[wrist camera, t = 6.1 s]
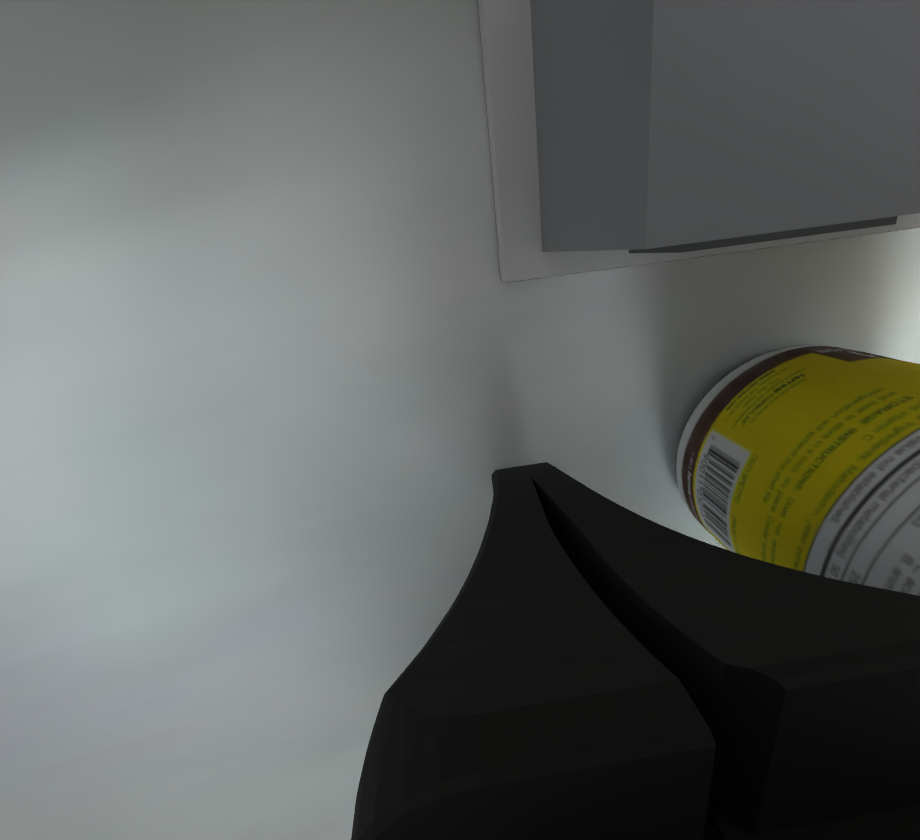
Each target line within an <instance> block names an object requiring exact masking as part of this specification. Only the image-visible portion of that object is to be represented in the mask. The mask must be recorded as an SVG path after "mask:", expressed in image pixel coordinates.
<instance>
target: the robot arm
mask: <svg viewBox="0 0 920 840" xmlns="http://www.w3.org/2000/svg"><path fill="white" fill-rule="evenodd" d="M492 484H493V493H494V494H493V502H492V507H491V513H490V518H489V521H488V525H487V528H486V531H485V535H484V538H483V541H482V544H481V547H480V550H479V552H478V555H477V557H476V560H475V562H474V564H473V566H472V569H471V571H470V573H469V575H468V577H467V579H466V581H465V583H464V585H463V587H462V588H461V590H460V592H459V594H458V596H457V598H456V599H455V601H454V603H453V604H452V606H451V608H450V609H449V611H448V612H447V614H446V615H445V617H444V618H443V620H442V621H441V623H440V624H439V626H438V627H437V629H436V630H435V632H434V633H433V635H432V636H431V637H430V639H429V640H428V642H427V643H426V644H425V646H424V647H423V648H422V650H421V651H420V652H419V653H418V655H417V656H416V657H415V658H414V660H413V661H412V662H411V663H410V664H409V666H408V667H407V668H406V669H405V670H404V672H403V673H402V674H401V675H400V676H399V678H398V679H397V680H396V681H395V682H394V684H393V685H392V686H391V687H390V688H389V689H388V691H387V692H386V693H385V694H384V697H383V700H382V703H381V706H380V709H379V712H378V715H377V718H376V721H375V724H374V727H373V731H372V734H371V738H370V741H369V745H368V748H367V752H366V756H365V760H364V765H363V769H362V774H361V778H360V782H359V787H358V792H357V797H356V805H355V814H354V822H353V830H352V838H351V840H920V596H918V595H913V594H908V593H903V592H897V591H892V590H887V589H882V588H877V587H871V586H866V585H861V584H856V583H851V582H846V581H840V580H836V579H832V578H827V577H823V576H819V575H815V574H811V573H807V572H803V571H799V570H795V569H791V568H787V567H783V566H779V565H775V564H772V563H768V562H765V561H761V560H758V559H754V558H751V557H747V556H744V555H741V554H738V553H735V552H732V551H729V550H726V549H723V548H720V547H717V546H713V545H710V544H708V543H705V542H702V541H699V540H697V539H694V538H691V537H688V536H686V535H684V534H681V533H679V532H676V531H674V530H671V529H669V528H666V527H664V526H662V525H659V524H657V523H655V522H652V521H650V520H648V519H646V518H644V517H642V516H640V515H638V514H636V513H634V512H632V511H630V510H628V509H626V508H624V507H622V506H620V505H618V504H616V503H614V502H612V501H611V500H609V499H607V498H605V497H603V496H602V495H600V494H598V493H596V492H595V491H593V490H591V489H590V488H588V487H586V486H585V485H583V484H581V483H580V482H578V481H577V480H575V479H573V478H572V477H570V476H569V475H567V474H565V473H564V472H562V471H561V470H559V469H557V468H556V467H554V466H552V465H551V464H549V463H547V462H545V463H539V464H532V465H525V466H519V467H512V468H505V469H499V470H495V472H494V473H493V474H492Z"/></svg>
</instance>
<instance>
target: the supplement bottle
mask: <svg viewBox="0 0 920 840" xmlns="http://www.w3.org/2000/svg"><path fill="white" fill-rule="evenodd" d="M676 473H677V481H678V486H679V490H680V493H681V495H682V498H683V500H684V502H685V504H686V506H687V507H688V509H689V511H690V512H691V513H692V515H693V516H694V517H695V518H696V520H697V521H698V522H699V523H700V524H701V525H702V526H703V527H704V528H705V529H706V530H707V531H708V532H709V533H710V534H711V535H712V536H713V537H714V538H715V539H716V540H717V541H718V542H719V543H720V544H721V545H722V546H723V547H724V548H725V549H727V550H729V551H732V552H735V553H738V554H741V555H744V556H747V557H751V558H754V559H758V560H761V561H765V562H768V563H772V564H775V565H779V566H783V567H787V568H791V569H795V570H799V571H803V572H807V573H811V574H815V575H819V576H823V577H827V578H832V579H836V580H840V581H846V582H851V583H856V584H861V585H866V586H871V587H877V588H882V589H887V590H892V591H897V592H903V593H908V594H913V595H918V596H920V364H917V363H911V362H906V361H900V360H896V359H892V358H888V357H883V356H879V355H874V354H870V353H865V352H860V351H854V350H848V349H843V348H838V347H831V346H823V345H801V346H793V347H787V348H783V349H779V350H775V351H772V352H769V353H766V354H764V355H761V356H759V357H757V358H755V359H753V360H751V361H748V362H747V363H745V364H743V365H742V366H740V367H738V368H737V369H735V370H734V371H732V372H731V373H730V374H728V375H727V376H725V377H724V378H723V379H722V380H721V381H720V382H718V383H717V384H716V385H715V386H714V387H713V388H712V389H711V390H710V391H709V392H708V393H707V394H706V396H705V397H704V398H703V399H702V401H701V402H700V403H699V404H698V406H697V407H696V409H695V410H694V412H693V414H692V415H691V417H690V419H689V420H688V422H687V424H686V426H685V429H684V431H683V434H682V437H681V439H680V443H679V447H678V452H677V461H676Z"/></svg>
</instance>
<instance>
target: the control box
mask: <svg viewBox="0 0 920 840" xmlns="http://www.w3.org/2000/svg"><path fill="white" fill-rule="evenodd" d="M478 8H479V20H480V32H481V44H482V56H483V69H484V81H485V93H486V105H487V117H488V129H489V141H490V153H491V166H492V178H493V190H494V202H495V214H496V226H497V238H498V250H499V263H500V275H501V281H503V282H506V283H507V282H514V281H522V280H529V279H537V278H544V277H552V276H559V275H567V274H574V273H582V272H589V271H597V270H604V269H612V268H619V267H627V266H634V265H642V264H649V263H657V262H664V261H672V260H679V259H687V258H694V257H702V256H709V255H717V254H724V253H732V252H739V251H747V250H754V249H762V248H769V247H777V246H785V245H792V244H800V243H807V242H815V241H822V240H830V239H837V238H845V237H852V236H860V235H867V234H875V233H882V232H890V231H897V230H905V229H912V228H920V0H478Z"/></svg>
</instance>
